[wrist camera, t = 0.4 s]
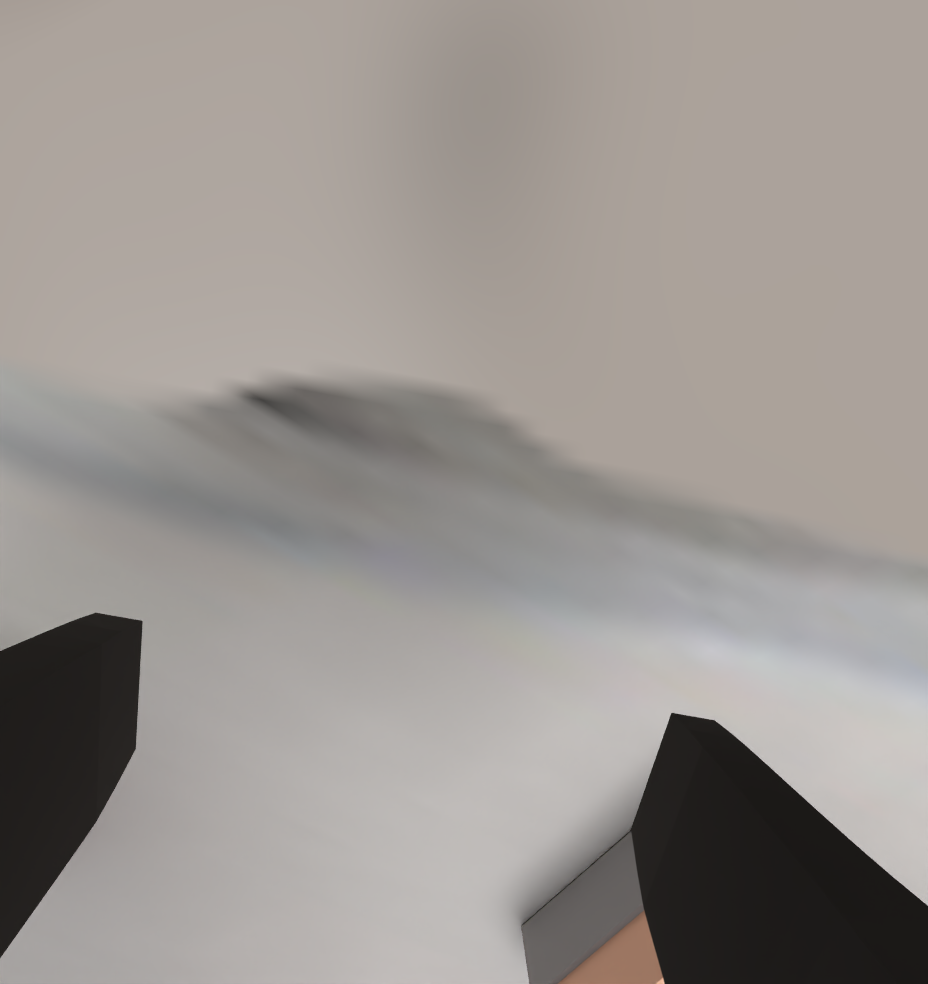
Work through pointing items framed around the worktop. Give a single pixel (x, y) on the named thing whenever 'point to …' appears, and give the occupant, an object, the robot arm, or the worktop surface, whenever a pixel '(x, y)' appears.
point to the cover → (622, 959)
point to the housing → (583, 916)
